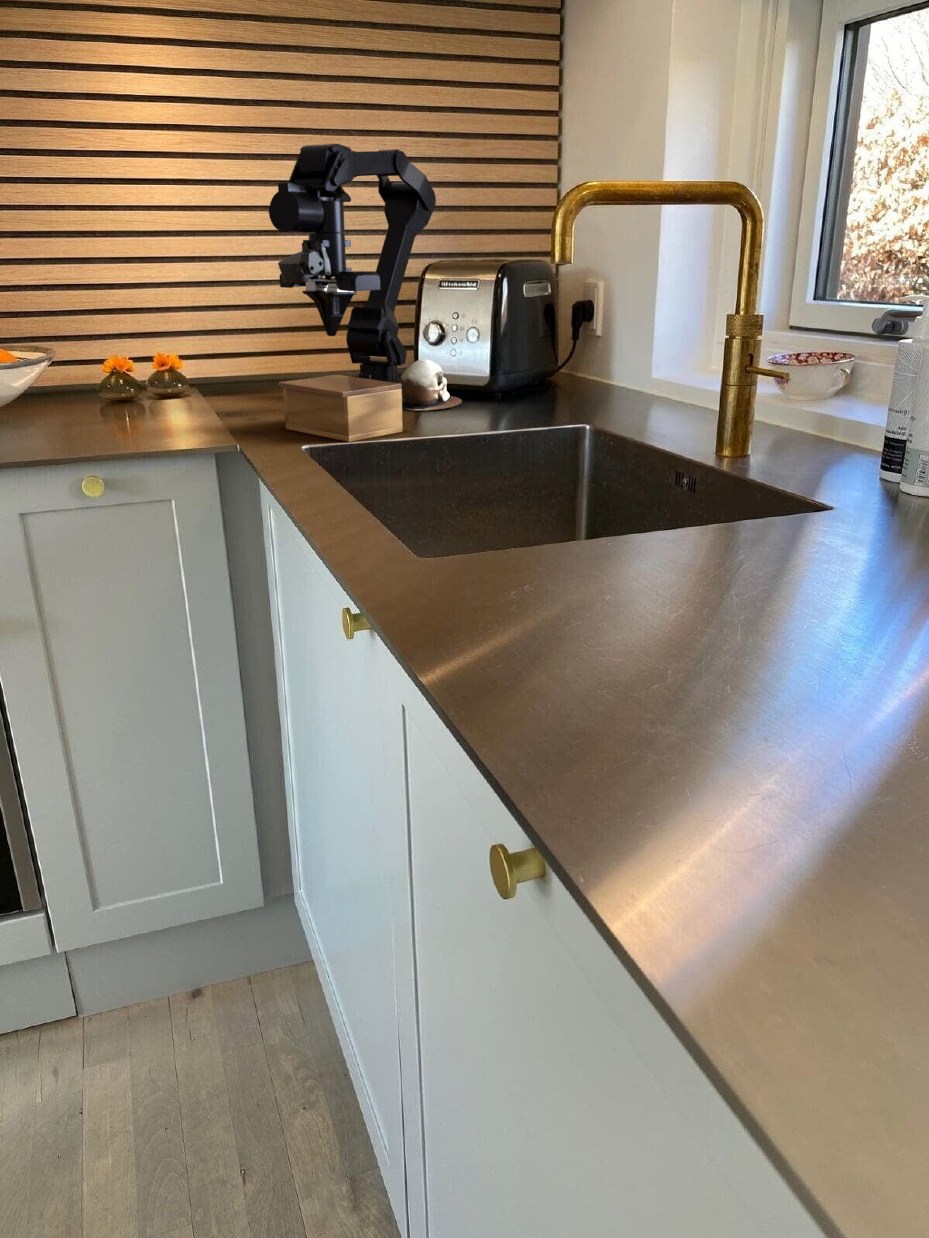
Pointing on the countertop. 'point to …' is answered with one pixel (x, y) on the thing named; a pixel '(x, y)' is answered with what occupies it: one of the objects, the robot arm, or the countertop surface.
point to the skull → (425, 387)
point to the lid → (340, 385)
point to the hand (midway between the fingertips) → (331, 336)
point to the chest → (344, 414)
